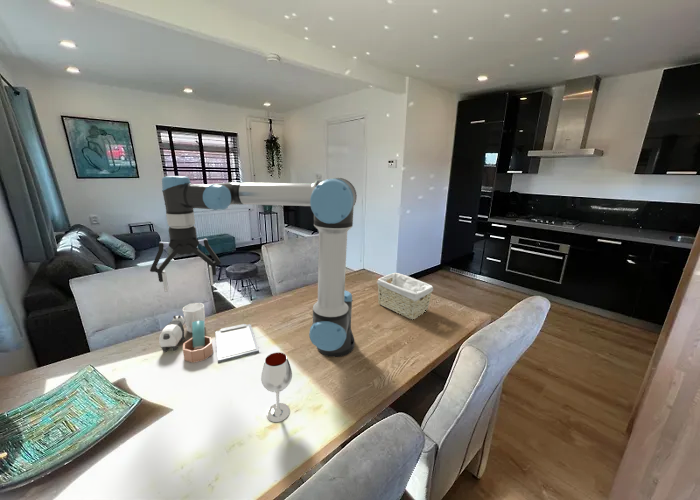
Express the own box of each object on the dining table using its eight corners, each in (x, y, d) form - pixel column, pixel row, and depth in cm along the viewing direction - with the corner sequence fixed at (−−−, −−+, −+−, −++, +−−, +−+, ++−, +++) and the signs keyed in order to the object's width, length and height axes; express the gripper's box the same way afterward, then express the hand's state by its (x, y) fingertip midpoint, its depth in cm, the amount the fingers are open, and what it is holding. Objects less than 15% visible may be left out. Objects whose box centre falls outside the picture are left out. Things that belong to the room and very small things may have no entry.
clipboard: (259, 352, 105) (258, 348, 105) (218, 362, 99) (217, 358, 98) (250, 325, 122) (250, 322, 122) (215, 333, 116) (214, 329, 115)
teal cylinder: (206, 350, 101) (204, 320, 105) (193, 352, 99) (192, 321, 103) (204, 351, 104) (203, 322, 108) (192, 353, 102) (191, 323, 106)
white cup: (197, 334, 114) (194, 313, 111) (181, 332, 115) (177, 310, 113) (210, 324, 121) (208, 304, 119) (194, 322, 123) (192, 301, 120)
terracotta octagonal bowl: (213, 357, 101) (212, 347, 100) (184, 364, 97) (182, 353, 96) (212, 343, 109) (211, 333, 108) (185, 349, 105) (183, 339, 103)
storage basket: (431, 312, 140) (435, 285, 136) (413, 323, 129) (416, 294, 125) (393, 295, 157) (395, 271, 153) (374, 304, 146) (376, 278, 142)
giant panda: (176, 353, 103) (172, 330, 100) (159, 354, 102) (155, 331, 99) (191, 330, 117) (188, 310, 114) (176, 331, 116) (173, 311, 113)
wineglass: (266, 401, 83) (263, 349, 78) (294, 400, 84) (293, 349, 79) (260, 425, 75) (256, 370, 70) (291, 424, 76) (289, 369, 71)
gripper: (223, 221, 98) (228, 277, 104) (136, 225, 87) (147, 288, 93) (225, 225, 92) (230, 285, 98) (131, 230, 81) (143, 297, 86)
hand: (190, 287), depth 95 cm, fingers open, 13 cm apart
